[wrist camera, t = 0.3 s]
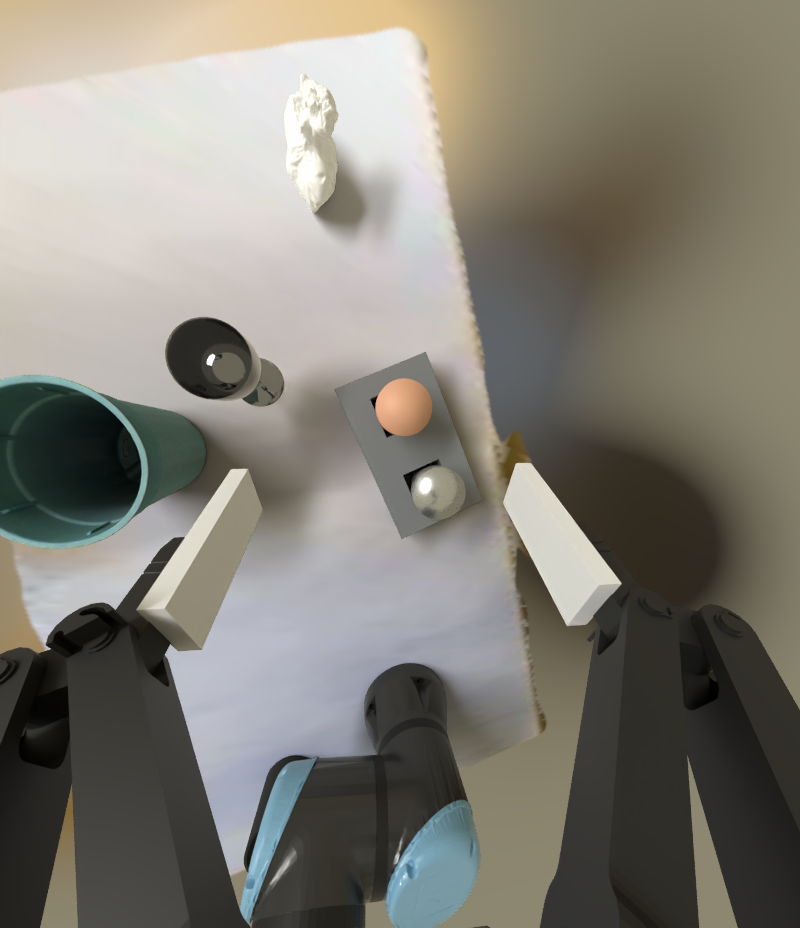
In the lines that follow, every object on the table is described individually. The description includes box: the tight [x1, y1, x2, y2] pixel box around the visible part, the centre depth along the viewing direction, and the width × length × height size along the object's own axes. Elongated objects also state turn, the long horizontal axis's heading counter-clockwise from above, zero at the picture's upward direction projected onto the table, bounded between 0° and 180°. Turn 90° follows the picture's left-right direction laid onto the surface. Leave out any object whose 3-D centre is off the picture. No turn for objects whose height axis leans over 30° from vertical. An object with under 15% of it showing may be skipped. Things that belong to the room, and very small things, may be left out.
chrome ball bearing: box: [411, 465, 466, 520], centre depth 41 cm, size 7×7×7 cm
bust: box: [284, 73, 338, 213], centre depth 37 cm, size 12×8×11 cm
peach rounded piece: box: [375, 378, 432, 436], centre depth 39 cm, size 7×7×7 cm
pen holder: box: [244, 756, 307, 873], centre depth 47 cm, size 9×9×10 cm
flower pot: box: [0, 375, 206, 549], centre depth 34 cm, size 16×16×16 cm
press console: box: [335, 352, 482, 539], centre depth 45 cm, size 24×14×6 cm, turn 23°
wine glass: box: [165, 317, 284, 406], centre depth 36 cm, size 8×8×15 cm
